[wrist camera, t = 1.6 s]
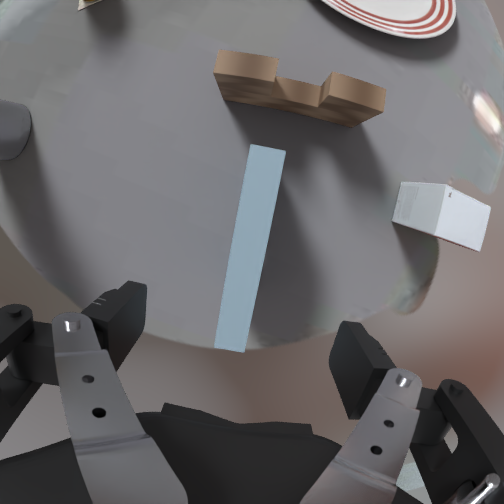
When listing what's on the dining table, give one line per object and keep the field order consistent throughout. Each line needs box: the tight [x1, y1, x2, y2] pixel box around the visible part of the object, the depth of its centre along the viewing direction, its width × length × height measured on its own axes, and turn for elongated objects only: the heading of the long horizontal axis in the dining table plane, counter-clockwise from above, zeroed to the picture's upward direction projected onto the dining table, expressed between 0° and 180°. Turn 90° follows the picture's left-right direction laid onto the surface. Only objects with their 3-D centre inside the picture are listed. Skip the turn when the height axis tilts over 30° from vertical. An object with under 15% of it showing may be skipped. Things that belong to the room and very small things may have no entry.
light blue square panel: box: [214, 144, 286, 352], centre depth 29 cm, size 2×16×15 cm, turn 169°
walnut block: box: [213, 50, 386, 128], centre depth 28 cm, size 16×2×10 cm, turn 79°
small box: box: [392, 182, 491, 252], centre depth 31 cm, size 8×6×10 cm
